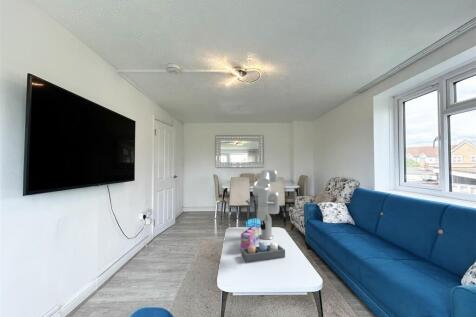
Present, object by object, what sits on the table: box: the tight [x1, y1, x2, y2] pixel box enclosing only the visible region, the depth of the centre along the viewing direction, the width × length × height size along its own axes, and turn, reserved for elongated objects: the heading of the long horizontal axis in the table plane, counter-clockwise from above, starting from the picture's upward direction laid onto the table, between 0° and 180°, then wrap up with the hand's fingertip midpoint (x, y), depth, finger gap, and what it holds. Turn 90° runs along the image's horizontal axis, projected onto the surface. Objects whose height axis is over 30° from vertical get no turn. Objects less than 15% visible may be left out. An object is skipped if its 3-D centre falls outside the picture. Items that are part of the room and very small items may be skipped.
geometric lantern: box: [245, 195, 261, 229], centre depth 230 cm, size 16×16×35 cm
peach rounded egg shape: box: [248, 245, 255, 254], centre depth 163 cm, size 6×6×6 cm
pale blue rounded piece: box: [258, 241, 268, 252], centre depth 165 cm, size 6×6×6 cm
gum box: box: [240, 226, 260, 249], centre depth 185 cm, size 24×8×14 cm, turn 155°
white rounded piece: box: [269, 242, 279, 251], centre depth 168 cm, size 6×6×6 cm
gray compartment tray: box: [240, 244, 286, 264], centre depth 165 cm, size 12×30×6 cm, turn 107°
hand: (263, 229), depth 165 cm, fingers closed
